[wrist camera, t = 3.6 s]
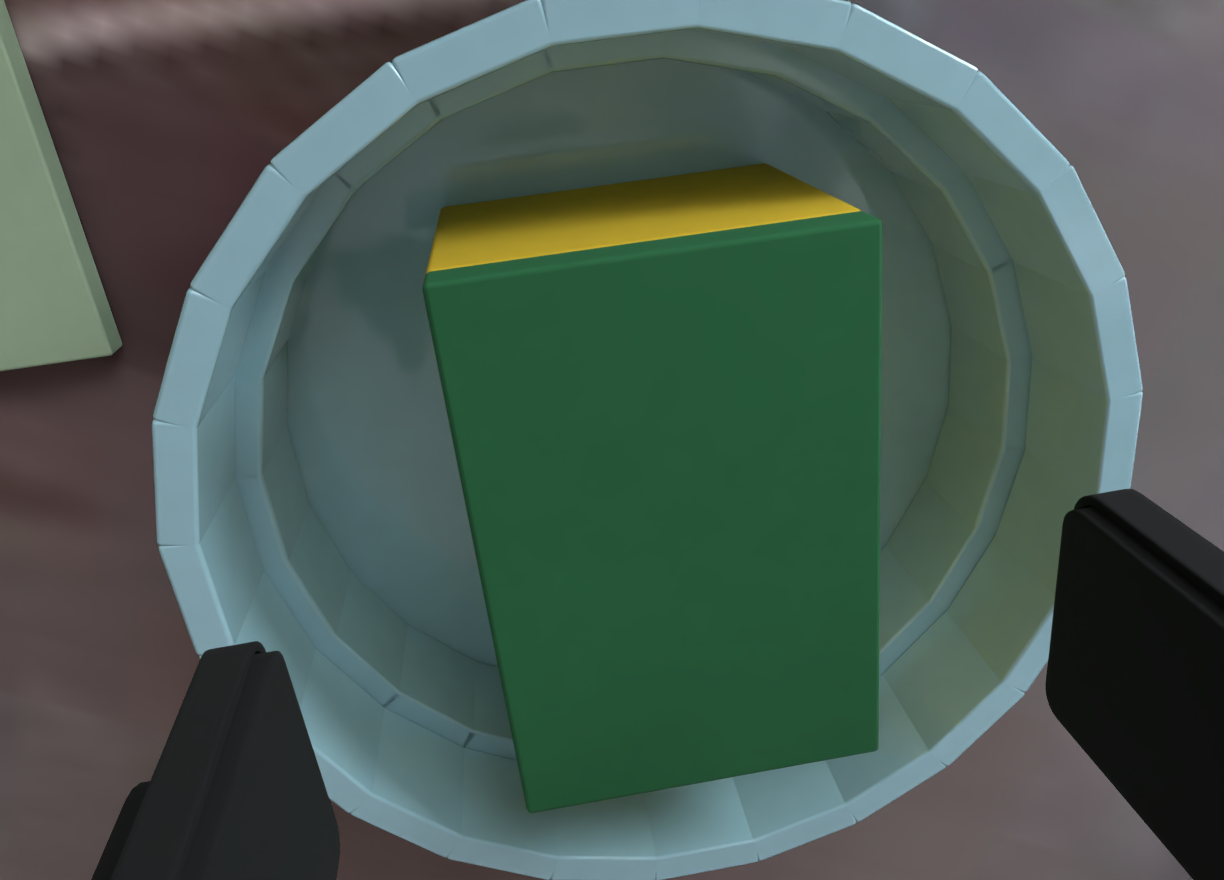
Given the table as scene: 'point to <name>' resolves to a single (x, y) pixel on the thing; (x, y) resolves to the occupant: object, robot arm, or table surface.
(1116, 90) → the table surface
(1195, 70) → the table surface
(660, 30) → the bowl
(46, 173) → the mat
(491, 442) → the sponge
